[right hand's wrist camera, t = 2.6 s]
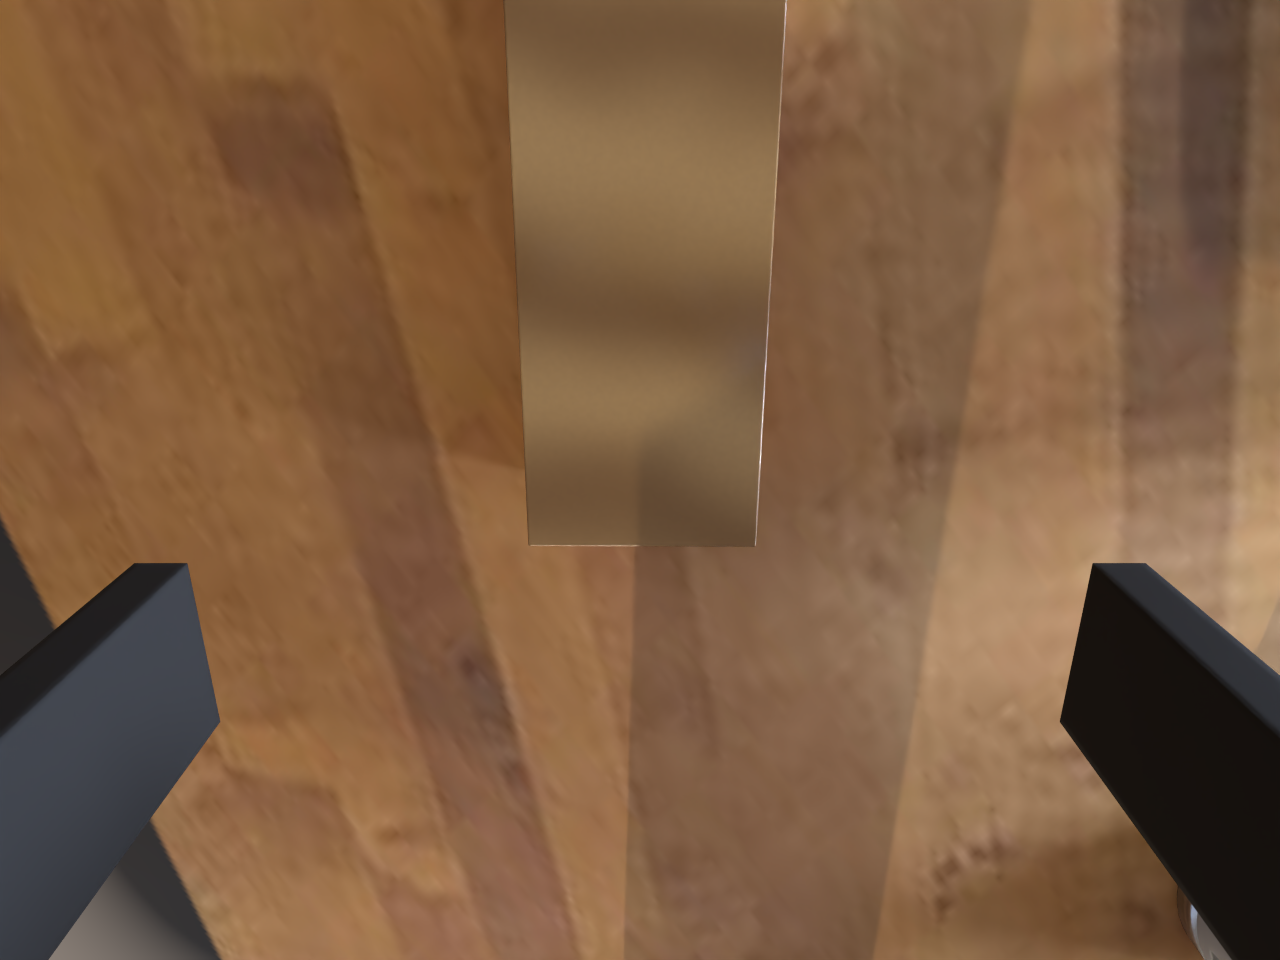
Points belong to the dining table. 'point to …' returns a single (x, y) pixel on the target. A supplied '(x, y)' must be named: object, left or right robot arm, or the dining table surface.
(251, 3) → the dining table surface
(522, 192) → the thick board
